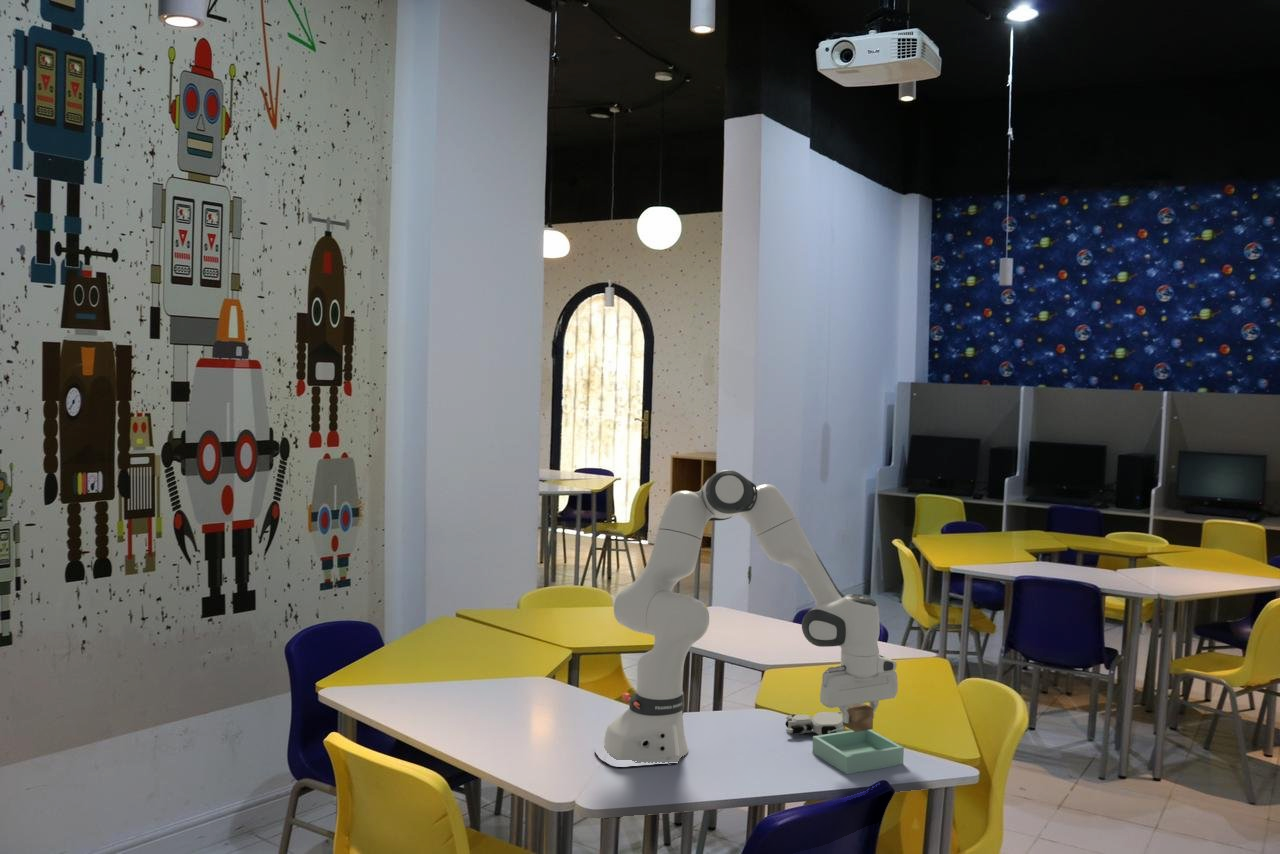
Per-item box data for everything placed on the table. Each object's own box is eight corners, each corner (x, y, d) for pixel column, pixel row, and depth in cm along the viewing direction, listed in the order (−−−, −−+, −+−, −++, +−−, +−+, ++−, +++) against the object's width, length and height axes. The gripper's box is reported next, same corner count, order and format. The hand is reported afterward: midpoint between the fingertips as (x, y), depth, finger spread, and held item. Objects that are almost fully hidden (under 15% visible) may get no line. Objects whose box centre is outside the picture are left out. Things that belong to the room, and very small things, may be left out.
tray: (846, 774, 232) (846, 757, 232) (812, 752, 245) (812, 736, 245) (903, 764, 238) (903, 747, 238) (867, 743, 251) (867, 727, 251)
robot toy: (785, 743, 253) (846, 743, 251) (784, 725, 253) (845, 725, 251) (786, 726, 265) (844, 726, 263) (785, 709, 265) (843, 708, 263)
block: (855, 732, 239) (855, 711, 238) (842, 724, 243) (843, 704, 243) (872, 729, 241) (873, 708, 240) (859, 721, 245) (860, 701, 245)
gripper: (830, 672, 234) (829, 731, 234) (902, 662, 242) (900, 718, 243) (815, 664, 239) (814, 722, 240) (885, 655, 248) (884, 710, 249)
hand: (858, 720), depth 242 cm, fingers closed on block, 5 cm apart
